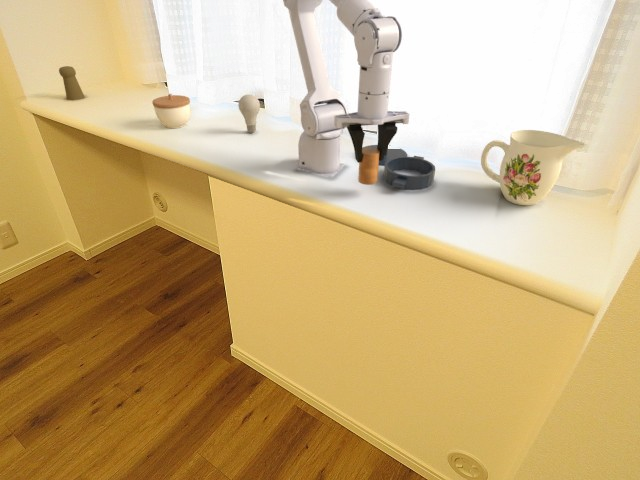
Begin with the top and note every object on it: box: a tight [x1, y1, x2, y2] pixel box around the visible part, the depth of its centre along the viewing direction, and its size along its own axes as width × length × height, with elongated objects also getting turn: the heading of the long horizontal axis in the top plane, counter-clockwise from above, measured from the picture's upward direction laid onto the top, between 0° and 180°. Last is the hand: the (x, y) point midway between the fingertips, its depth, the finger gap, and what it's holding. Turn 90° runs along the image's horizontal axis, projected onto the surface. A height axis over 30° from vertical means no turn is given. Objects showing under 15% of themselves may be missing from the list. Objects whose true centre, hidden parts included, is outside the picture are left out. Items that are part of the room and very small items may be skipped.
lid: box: [362, 144, 408, 166], centre depth 104 cm, size 13×13×4 cm
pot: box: [383, 155, 436, 191], centre depth 93 cm, size 11×17×4 cm
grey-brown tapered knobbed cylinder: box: [58, 65, 86, 101], centre depth 149 cm, size 6×6×11 cm
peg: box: [357, 147, 380, 186], centre depth 84 cm, size 4×4×7 cm
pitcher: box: [480, 129, 587, 206], centre depth 83 cm, size 11×18×14 cm, turn 51°
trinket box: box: [152, 93, 192, 129], centre depth 124 cm, size 11×11×9 cm
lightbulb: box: [238, 93, 261, 134], centre depth 118 cm, size 6×6×11 cm
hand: (368, 159), depth 83 cm, fingers closed on peg, 4 cm apart
